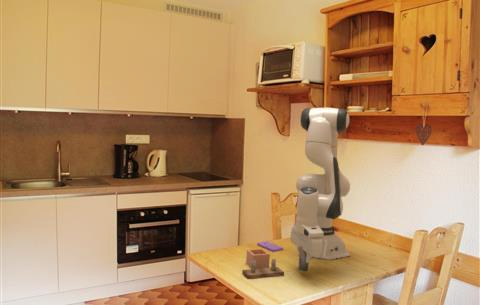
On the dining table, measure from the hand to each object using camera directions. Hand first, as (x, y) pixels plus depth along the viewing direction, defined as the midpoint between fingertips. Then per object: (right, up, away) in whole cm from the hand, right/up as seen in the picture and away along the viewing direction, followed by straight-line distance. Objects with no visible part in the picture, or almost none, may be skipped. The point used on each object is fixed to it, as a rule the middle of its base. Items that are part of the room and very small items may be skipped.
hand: (304, 259), depth 166 cm
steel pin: (0, -4, 0) cm, 4 cm away
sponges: (-11, -4, +36) cm, 38 cm away
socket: (-19, -5, +9) cm, 22 cm away
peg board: (-17, -6, -1) cm, 18 cm away
